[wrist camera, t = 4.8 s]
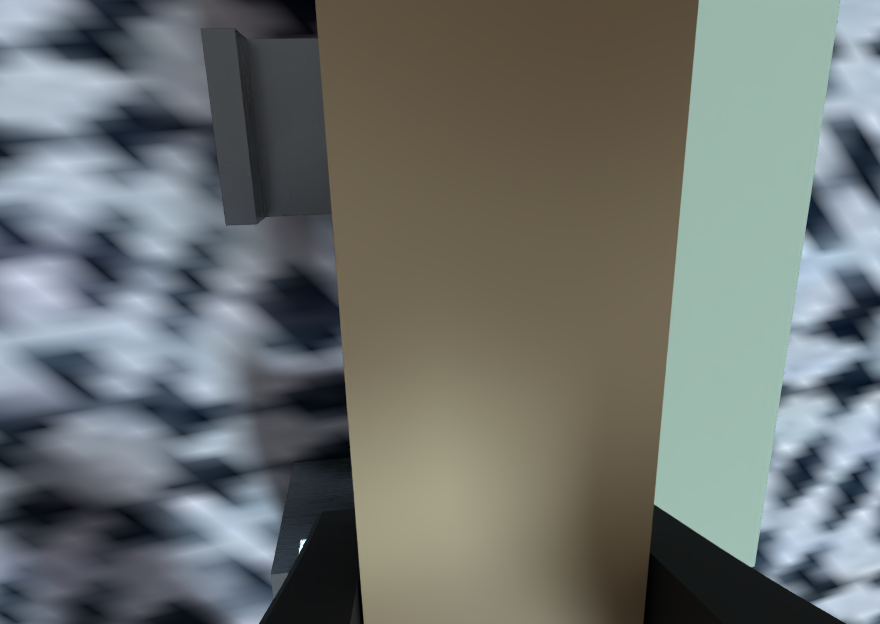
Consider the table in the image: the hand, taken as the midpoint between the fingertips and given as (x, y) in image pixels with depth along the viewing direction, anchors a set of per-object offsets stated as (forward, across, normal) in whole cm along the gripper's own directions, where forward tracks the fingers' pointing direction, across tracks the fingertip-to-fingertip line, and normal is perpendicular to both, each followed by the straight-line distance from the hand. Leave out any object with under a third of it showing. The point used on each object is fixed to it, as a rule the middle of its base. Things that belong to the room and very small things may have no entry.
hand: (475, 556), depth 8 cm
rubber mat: (+10, -8, 0) cm, 13 cm away
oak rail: (0, 0, 0) cm, 0 cm away
